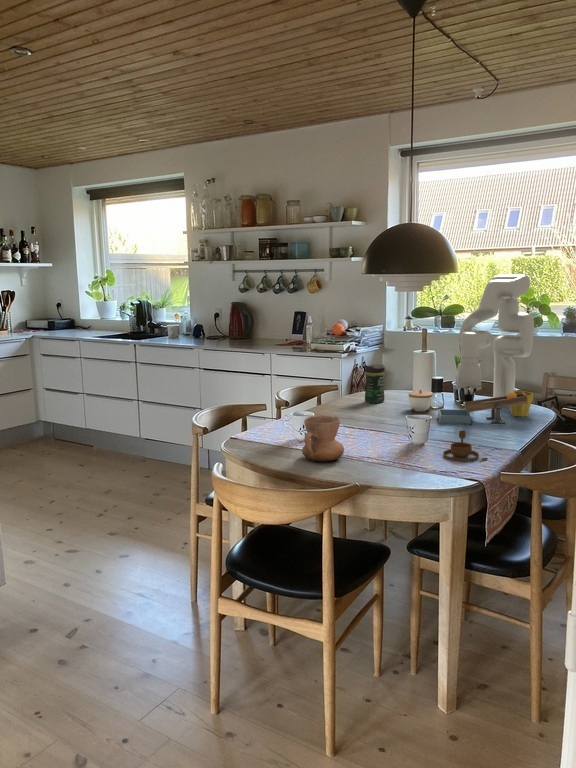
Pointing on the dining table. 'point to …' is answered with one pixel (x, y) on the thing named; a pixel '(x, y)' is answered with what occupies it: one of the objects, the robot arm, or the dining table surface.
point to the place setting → (462, 450)
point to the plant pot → (522, 405)
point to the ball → (511, 395)
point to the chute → (495, 402)
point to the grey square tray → (453, 416)
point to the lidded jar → (420, 400)
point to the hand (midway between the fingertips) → (467, 402)
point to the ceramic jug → (322, 438)
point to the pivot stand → (495, 415)
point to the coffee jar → (374, 383)
